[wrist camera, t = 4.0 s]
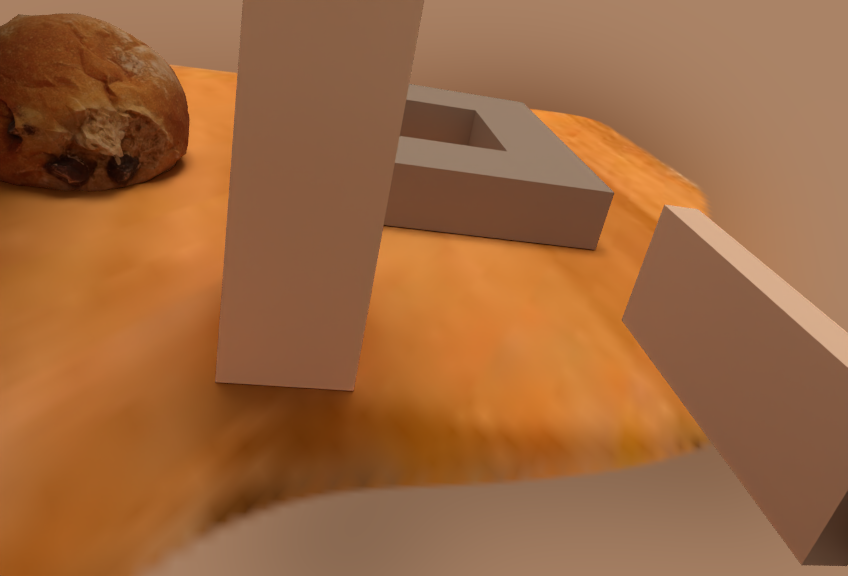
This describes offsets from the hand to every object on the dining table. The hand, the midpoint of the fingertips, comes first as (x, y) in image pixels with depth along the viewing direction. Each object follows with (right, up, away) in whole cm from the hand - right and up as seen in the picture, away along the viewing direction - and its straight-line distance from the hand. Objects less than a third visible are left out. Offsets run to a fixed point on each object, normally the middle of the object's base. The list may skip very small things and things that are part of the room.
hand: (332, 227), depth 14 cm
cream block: (-3, -3, +10) cm, 11 cm away
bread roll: (-15, +5, +20) cm, 25 cm away
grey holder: (+2, +5, +27) cm, 28 cm away
